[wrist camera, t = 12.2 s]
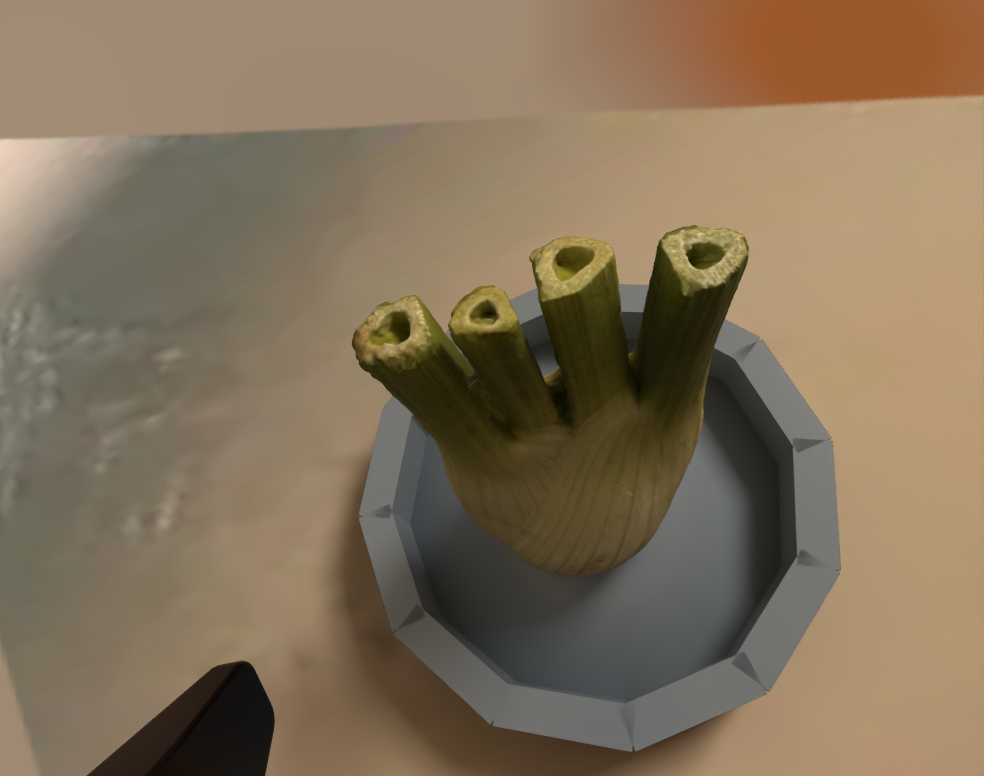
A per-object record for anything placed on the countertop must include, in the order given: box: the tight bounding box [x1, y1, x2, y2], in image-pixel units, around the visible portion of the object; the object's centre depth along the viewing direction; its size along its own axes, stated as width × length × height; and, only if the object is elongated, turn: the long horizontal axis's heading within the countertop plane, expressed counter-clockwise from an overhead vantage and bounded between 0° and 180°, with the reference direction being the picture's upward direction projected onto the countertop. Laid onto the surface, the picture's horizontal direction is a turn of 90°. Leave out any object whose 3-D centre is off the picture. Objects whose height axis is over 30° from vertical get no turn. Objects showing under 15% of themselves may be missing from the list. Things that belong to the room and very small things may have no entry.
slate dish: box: [359, 284, 841, 752], centre depth 19 cm, size 13×13×3 cm
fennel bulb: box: [352, 225, 749, 577], centre depth 14 cm, size 6×5×12 cm
